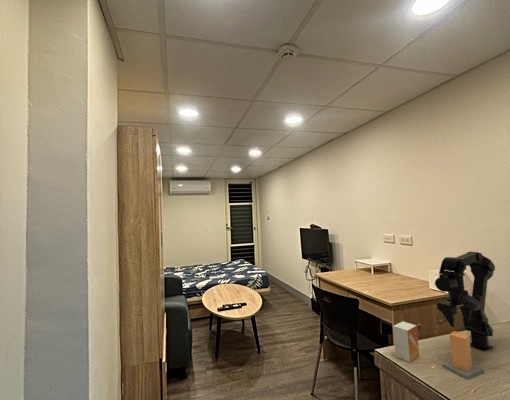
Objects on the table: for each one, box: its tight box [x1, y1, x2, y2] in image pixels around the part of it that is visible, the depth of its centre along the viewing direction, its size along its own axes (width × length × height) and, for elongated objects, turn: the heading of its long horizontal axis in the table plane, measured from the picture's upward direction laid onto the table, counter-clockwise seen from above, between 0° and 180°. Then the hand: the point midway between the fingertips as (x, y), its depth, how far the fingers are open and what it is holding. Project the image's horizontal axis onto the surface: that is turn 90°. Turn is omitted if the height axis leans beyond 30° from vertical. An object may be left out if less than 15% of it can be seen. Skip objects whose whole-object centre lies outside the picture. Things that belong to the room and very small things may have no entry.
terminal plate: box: [441, 360, 485, 380], centre depth 103 cm, size 10×9×4 cm
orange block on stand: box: [449, 330, 473, 372], centre depth 103 cm, size 5×5×12 cm
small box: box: [392, 320, 420, 363], centre depth 115 cm, size 8×6×13 cm
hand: (459, 324), depth 113 cm, fingers open, 9 cm apart
